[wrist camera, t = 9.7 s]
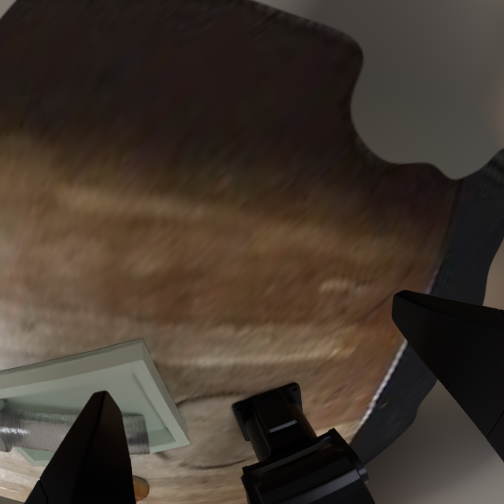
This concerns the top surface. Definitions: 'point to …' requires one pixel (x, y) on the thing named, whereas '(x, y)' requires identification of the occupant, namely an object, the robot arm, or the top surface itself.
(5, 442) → the pin
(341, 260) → the top surface
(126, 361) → the tray
